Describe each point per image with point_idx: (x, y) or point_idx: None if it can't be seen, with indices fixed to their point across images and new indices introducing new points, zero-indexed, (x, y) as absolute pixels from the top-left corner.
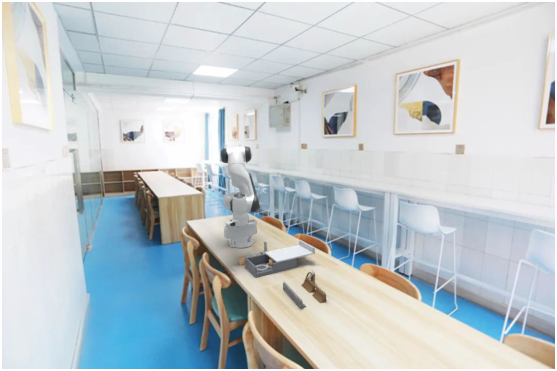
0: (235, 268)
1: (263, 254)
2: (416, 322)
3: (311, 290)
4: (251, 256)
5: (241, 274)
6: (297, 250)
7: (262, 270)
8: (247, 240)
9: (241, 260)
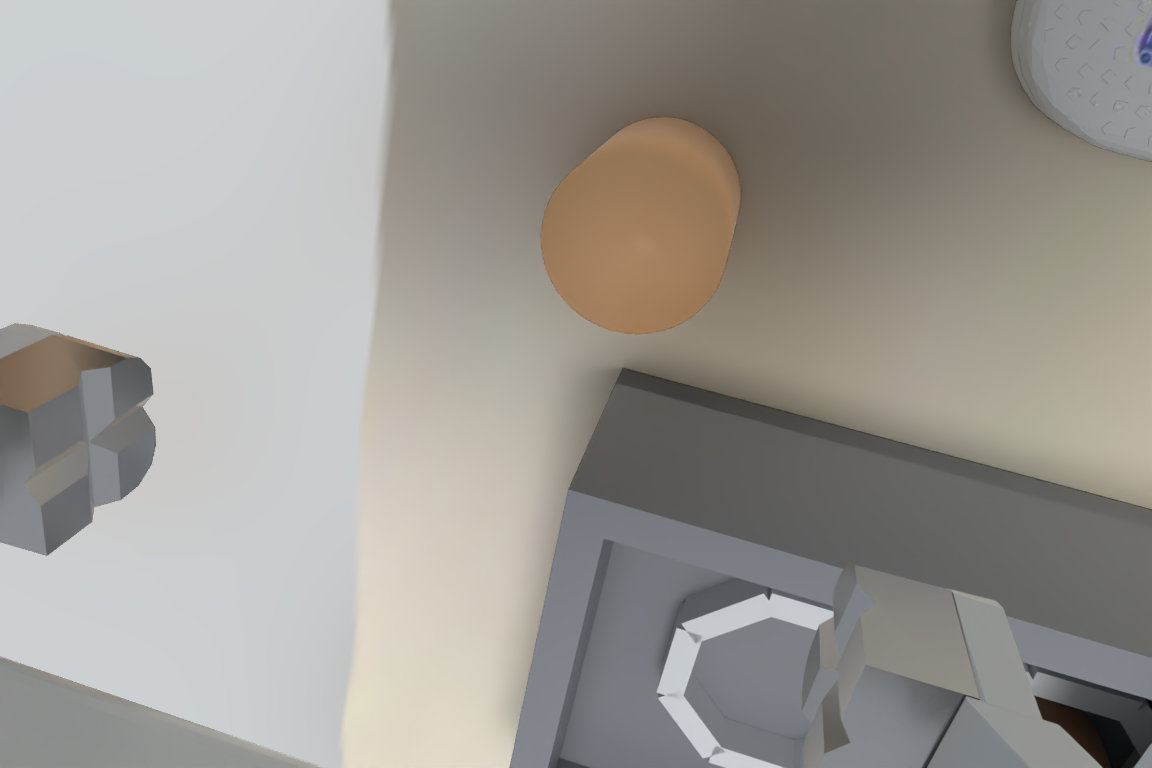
0: (467, 224)
1: (1118, 675)
2: None
3: None
4: (1121, 58)
5: (443, 498)
6: None
7: (719, 760)
8: (862, 630)
9: (576, 300)
